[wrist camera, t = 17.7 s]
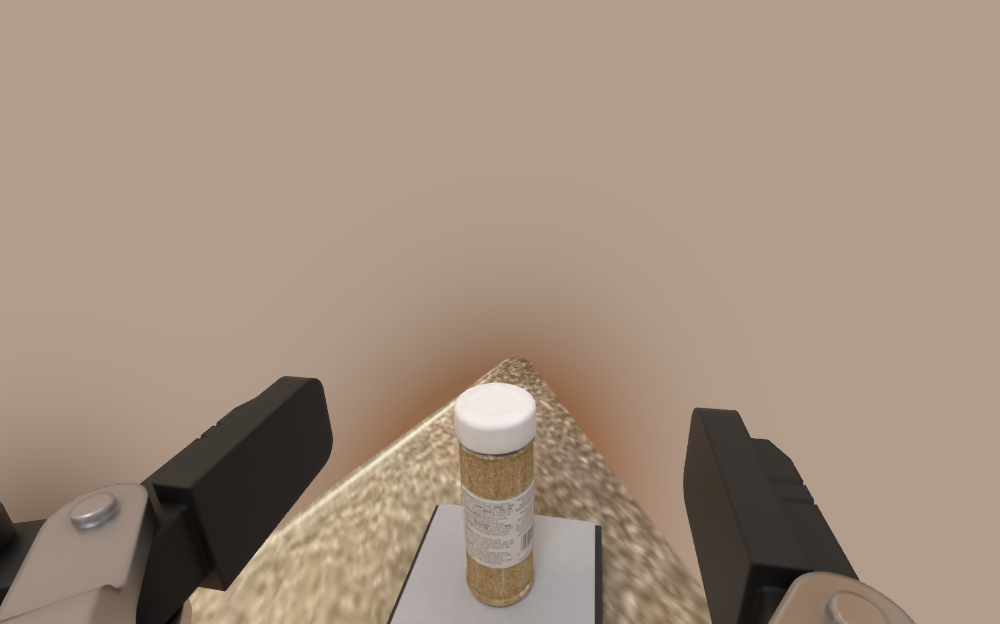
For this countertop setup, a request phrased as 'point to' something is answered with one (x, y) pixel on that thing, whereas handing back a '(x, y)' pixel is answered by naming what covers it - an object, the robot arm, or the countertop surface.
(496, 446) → the sprinkles bottle
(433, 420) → the countertop surface
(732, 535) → the robot arm
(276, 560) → the countertop surface
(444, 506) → the kitchen scale
